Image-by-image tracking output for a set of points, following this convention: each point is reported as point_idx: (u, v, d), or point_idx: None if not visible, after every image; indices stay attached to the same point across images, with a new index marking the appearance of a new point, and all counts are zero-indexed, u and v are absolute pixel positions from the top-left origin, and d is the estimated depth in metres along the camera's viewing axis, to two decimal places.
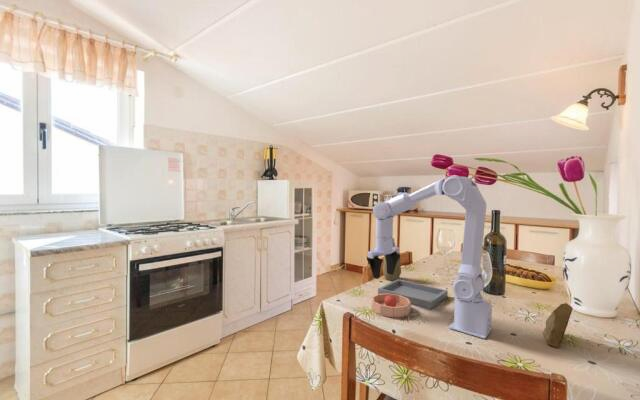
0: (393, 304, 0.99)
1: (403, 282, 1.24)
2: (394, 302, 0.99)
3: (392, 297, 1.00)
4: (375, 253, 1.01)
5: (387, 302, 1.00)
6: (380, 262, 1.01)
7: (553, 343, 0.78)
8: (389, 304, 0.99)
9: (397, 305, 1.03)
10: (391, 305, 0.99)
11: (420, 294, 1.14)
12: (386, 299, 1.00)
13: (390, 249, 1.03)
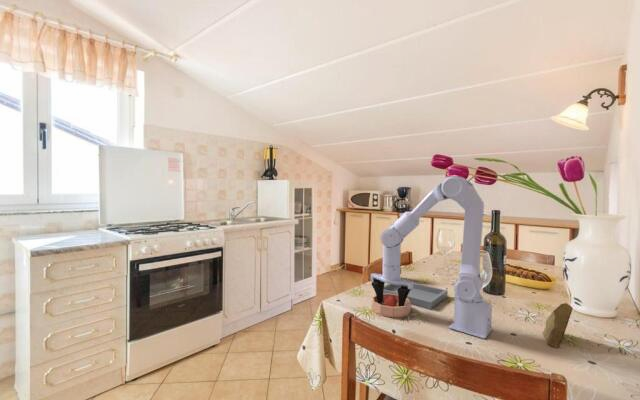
0: (393, 304, 0.99)
1: None
2: (394, 302, 0.99)
3: (392, 297, 1.00)
4: (374, 276, 1.04)
5: (387, 302, 1.00)
6: (374, 286, 1.02)
7: (553, 343, 0.78)
8: (389, 304, 0.99)
9: (397, 305, 1.03)
10: (391, 305, 0.99)
11: (420, 294, 1.14)
12: (386, 299, 1.00)
13: (386, 278, 0.99)
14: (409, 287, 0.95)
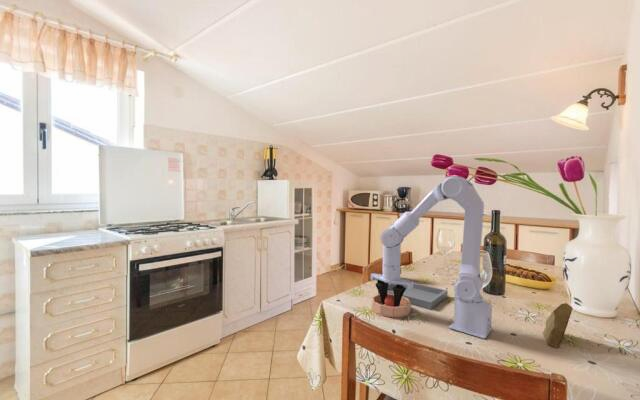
0: (393, 304, 0.99)
1: None
2: None
3: (392, 297, 1.00)
4: (374, 276, 1.04)
5: (387, 302, 1.00)
6: (379, 287, 1.01)
7: (553, 343, 0.78)
8: (389, 304, 0.99)
9: None
10: (391, 305, 0.99)
11: (420, 294, 1.14)
12: (386, 299, 1.00)
13: (386, 278, 0.99)
14: (409, 287, 0.95)
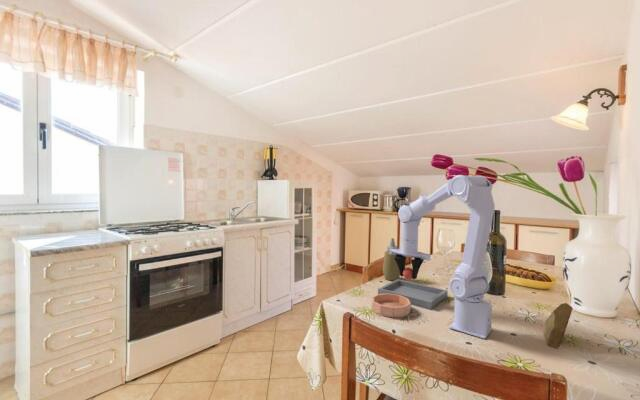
0: (411, 275, 1.07)
1: (403, 282, 1.24)
2: None
3: (410, 269, 1.08)
4: (392, 250, 1.12)
5: (405, 274, 1.08)
6: (397, 260, 1.09)
7: (553, 343, 0.78)
8: (407, 276, 1.07)
9: (397, 305, 1.03)
10: (409, 276, 1.07)
11: (420, 294, 1.14)
12: (404, 271, 1.08)
13: (405, 251, 1.07)
14: (427, 259, 1.04)
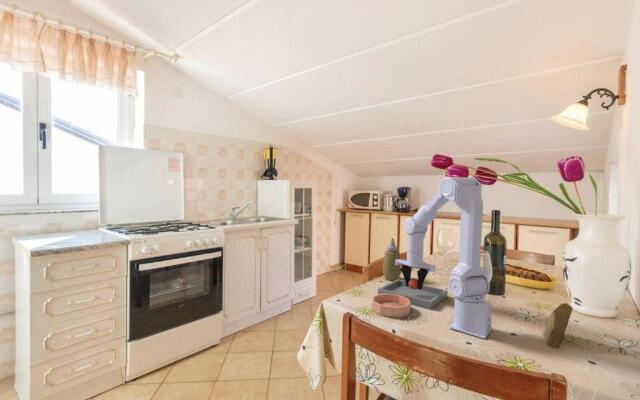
0: (417, 286, 1.11)
1: (403, 282, 1.24)
2: (417, 284, 1.11)
3: (416, 280, 1.11)
4: (398, 261, 1.15)
5: (411, 284, 1.11)
6: (403, 271, 1.12)
7: (553, 343, 0.78)
8: (413, 286, 1.11)
9: (397, 305, 1.03)
10: (415, 287, 1.11)
11: (420, 294, 1.14)
12: (410, 281, 1.12)
13: (411, 262, 1.10)
14: (432, 270, 1.07)
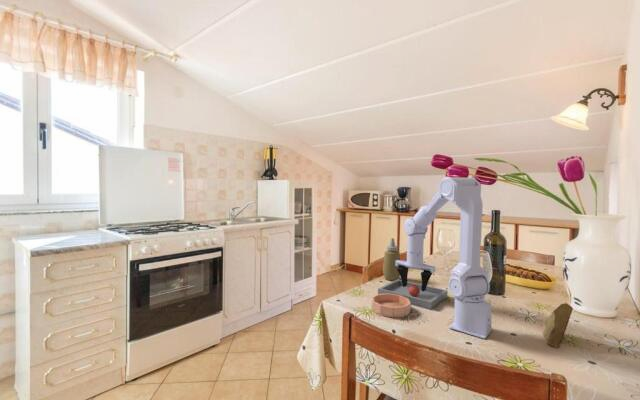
0: (416, 293, 1.11)
1: None
2: (417, 291, 1.11)
3: (416, 287, 1.11)
4: (398, 262, 1.15)
5: (411, 291, 1.11)
6: (400, 271, 1.13)
7: (553, 343, 0.78)
8: (413, 293, 1.11)
9: (397, 305, 1.03)
10: (415, 294, 1.11)
11: (420, 294, 1.14)
12: (410, 288, 1.12)
13: (411, 263, 1.10)
14: (432, 271, 1.07)
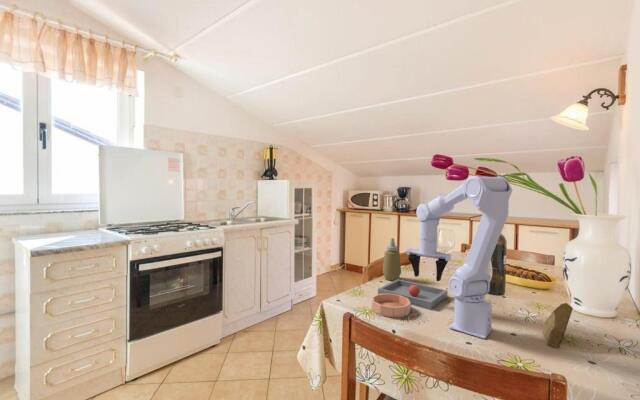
0: (417, 293, 1.11)
1: (403, 282, 1.24)
2: (417, 291, 1.11)
3: (416, 287, 1.11)
4: (410, 251, 1.08)
5: (411, 291, 1.11)
6: (412, 260, 1.06)
7: (553, 343, 0.78)
8: (413, 293, 1.11)
9: (397, 305, 1.03)
10: (415, 294, 1.11)
11: (420, 294, 1.14)
12: (410, 288, 1.12)
13: (424, 251, 1.03)
14: (447, 259, 1.00)
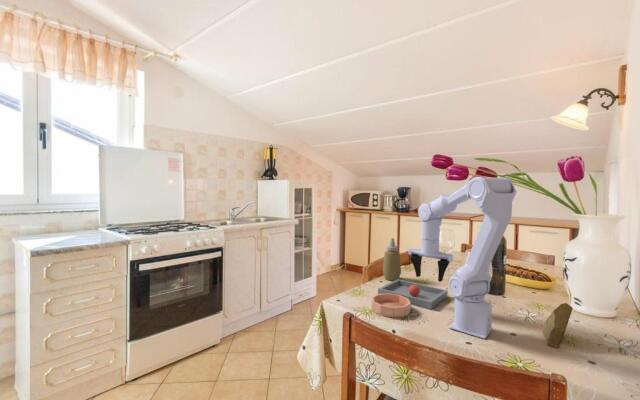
0: (417, 293, 1.11)
1: (403, 282, 1.24)
2: (418, 291, 1.11)
3: (416, 287, 1.11)
4: (412, 251, 1.07)
5: (411, 291, 1.11)
6: (413, 260, 1.06)
7: (553, 343, 0.78)
8: (413, 293, 1.11)
9: (397, 305, 1.03)
10: (415, 294, 1.11)
11: (420, 294, 1.14)
12: (410, 288, 1.12)
13: (426, 251, 1.02)
14: (449, 259, 0.99)
